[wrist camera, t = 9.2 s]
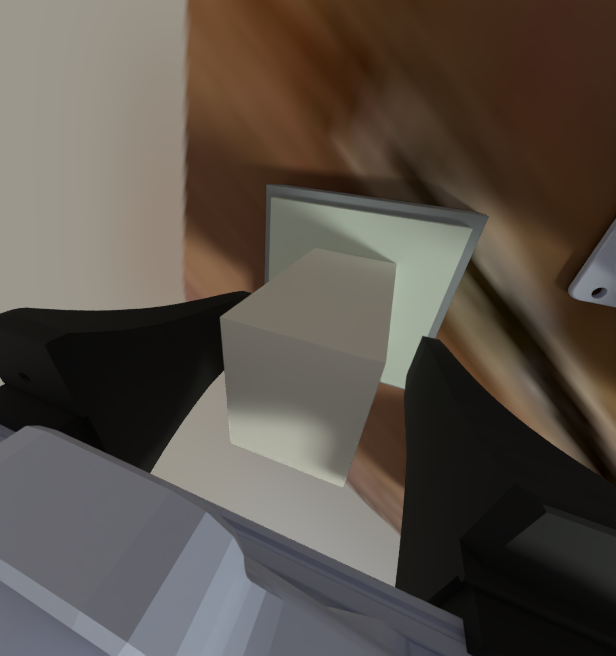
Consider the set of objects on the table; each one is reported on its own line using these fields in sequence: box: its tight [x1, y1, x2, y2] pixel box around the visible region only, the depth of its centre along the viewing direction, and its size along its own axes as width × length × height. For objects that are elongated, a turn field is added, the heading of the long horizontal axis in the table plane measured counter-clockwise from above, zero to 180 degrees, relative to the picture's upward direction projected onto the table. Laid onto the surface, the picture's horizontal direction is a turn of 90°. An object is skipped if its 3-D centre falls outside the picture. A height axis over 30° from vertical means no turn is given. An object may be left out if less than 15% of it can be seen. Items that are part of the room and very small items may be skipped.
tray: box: [265, 184, 489, 390], centre depth 15 cm, size 10×10×2 cm
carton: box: [220, 248, 397, 488], centre depth 10 cm, size 4×5×8 cm
